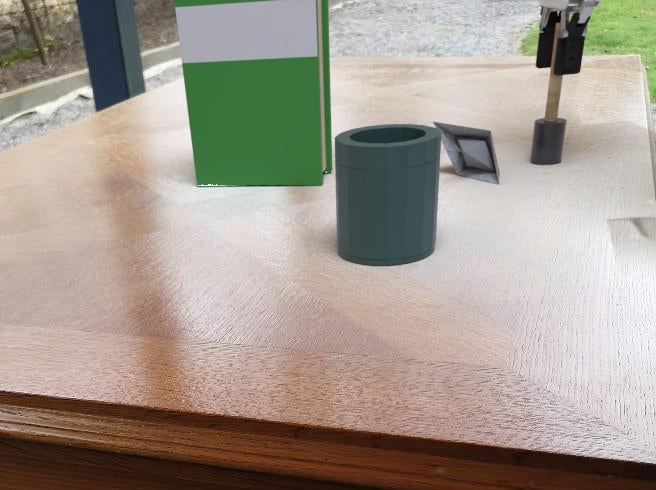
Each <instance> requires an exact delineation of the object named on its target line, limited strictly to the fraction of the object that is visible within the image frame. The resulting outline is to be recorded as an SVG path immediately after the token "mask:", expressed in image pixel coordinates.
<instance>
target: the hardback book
mask: <svg viewBox="0 0 656 490" xmlns="http://www.w3.org/2000/svg"><path fill="white" fill-rule="evenodd" d="M173 2H174V10H175V17H176V27H177V33H178V43H179V49H180V58H181V65H182V66H181V67H182V74H183V84H184V90H185V100H186V108H187V115H188V123H189V124H188V125H189V131H190V132H189V133H190V141H191V148H192V149H191V150H192V157H193V164H194V173H195V179H196V180H195V181H196V186H197V185H202V184H203V185H208V184H211V185H212V184H213V185H216V184H217V185H238V186H237V187H247V186H246V185H304V186H303V187H313V185H314V187H318V186H319V185H322V184H323V185H324V173H323V172H326V171H327V172H331V171H332V172H333V139H332V138H333V137H332V135H333V134H332V103H331V102H332V99H331V96H332V95H331V57H330V56H331V55H330V52H331V51H330V20H329V19H330V18H329V17H330V16H329V15H330V14H329V0H173ZM240 185H241V186H240ZM316 185H318V186H316ZM323 185H322V186H323ZM319 187H320V186H319Z"/></svg>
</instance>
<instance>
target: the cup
mask: <svg viewBox="0 0 656 490" xmlns="http://www.w3.org/2000/svg"><path fill="white" fill-rule="evenodd" d="M441 148H442V141H441V132H440V131H439V130H438V129H437V128H435V126H428V125H425V124H414V123H413V124H412V123H389V124H388V123H387V124H375V125H367V126H361V127H356V128H351V129H349V130H345V131H341V132H339V133H338V134H337V135H336V136H335V137H334V166H335V167H334V171H335V173H334V174H335V175H334V176H335V211H336V212H335V213H336V215H335V216H336V218H335V219H336V245H337V254H338V256H339V257H341V258H342V259H344V260H346V261H348V262H351V263H353V264H359V265H364V266H380V267H381V266H399V265H405V264H410V263H415V262H417V261H420V260H424V259H425V258H427V257H429V256H431V255H432V254H433V253H434V251H435V249H436V243H437V229H438V228H437V227H438V207H439V187H440V171H441V170H440V169H441V150H442V149H441Z"/></svg>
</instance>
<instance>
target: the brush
mask: <svg viewBox="0 0 656 490" xmlns="http://www.w3.org/2000/svg"><path fill="white" fill-rule="evenodd" d="M557 38H561V22H558V23H556V29H555V37H554V45H553V53H552V62H551V68H550V70H549V77H548V78H549V80H548V86H547V95H546V103H545V109H544V110H545V111H544V117H543V118H538V119H535V120H534V123H533V124H534V125H533V134H532V140H531V150H530V158H529V161H530V163H531V164H534V165H541V166H542V165H543V166H544V165H546V164H550V165H555V164H554V163H556V164H558V163H557V162H559V163H561V162H562V158H563V149H564V142H565V136H566V135H565V134H566V128H567V121H568V120H567V119H565V118H562V117H558V116H559V108H560V102H561V101H560V100H561V93H562V86H563V78H564V75H558V76H557V75H554V73H553V70H554V62H555V54H556V46H557ZM560 161H561V162H560ZM546 166H547V165H546Z"/></svg>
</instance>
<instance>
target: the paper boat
mask: <svg viewBox="0 0 656 490" xmlns="http://www.w3.org/2000/svg"><path fill="white" fill-rule="evenodd" d="M432 123H433V127H434V128H437V129H438V130H439V131H440V132H441V144H442V145H443V147H444V150H445V151H446V154H447V156H448V157H449V160H450V162H451V165H452V166H453V168H454V171H455V173H456V176H457V175H458V176H462V177H465V178H470V179H473V180H477V181H483V182H487V183H490V184H491V183H492V184H496V185H500V174H501V173H500V172H501V171H500V168H499V164H498V163H499V162H498V158H497V154H496V148H495V144H494V139H493V135H492V130H487V129H482V128H481V129H480V128H475V127H470V126H463V125H456V124H450V123H444V122H438V121H432Z"/></svg>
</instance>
